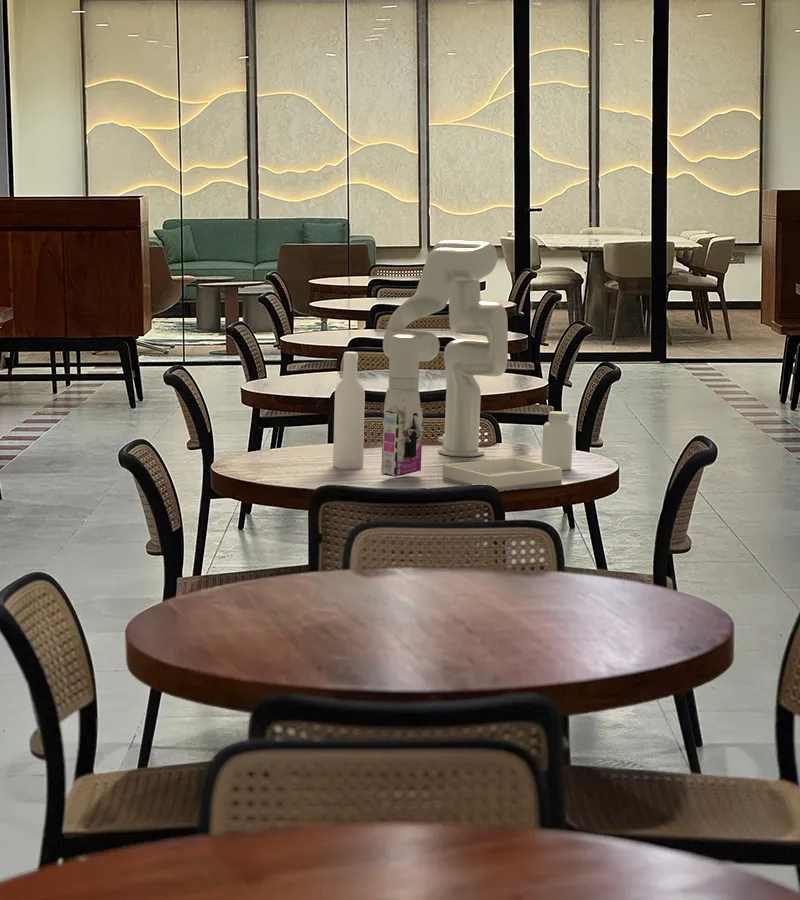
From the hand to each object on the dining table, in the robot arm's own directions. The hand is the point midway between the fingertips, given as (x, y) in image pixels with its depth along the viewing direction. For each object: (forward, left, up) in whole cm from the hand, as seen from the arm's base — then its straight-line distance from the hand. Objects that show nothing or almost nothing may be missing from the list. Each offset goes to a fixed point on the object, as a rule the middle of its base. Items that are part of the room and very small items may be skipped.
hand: (402, 454), depth 396 cm
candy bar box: (0, 0, -5) cm, 5 cm away
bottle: (-20, -3, -6) cm, 21 cm away
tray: (+16, +19, -6) cm, 26 cm away
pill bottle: (+8, +45, -6) cm, 47 cm away
